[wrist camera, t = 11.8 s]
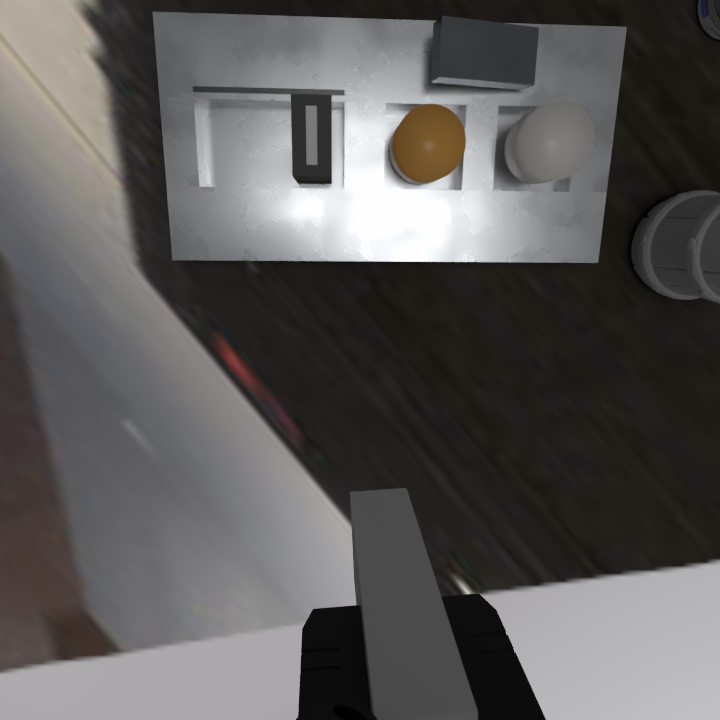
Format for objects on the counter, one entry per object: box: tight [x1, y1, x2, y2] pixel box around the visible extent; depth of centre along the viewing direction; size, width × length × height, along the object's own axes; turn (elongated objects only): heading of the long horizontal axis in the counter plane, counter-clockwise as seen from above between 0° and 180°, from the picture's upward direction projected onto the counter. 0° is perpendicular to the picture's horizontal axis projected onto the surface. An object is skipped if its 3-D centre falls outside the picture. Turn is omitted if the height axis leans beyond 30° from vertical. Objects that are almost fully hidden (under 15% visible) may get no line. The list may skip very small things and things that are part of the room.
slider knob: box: [291, 94, 332, 184], centre depth 31 cm, size 2×4×5 cm, turn 179°
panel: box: [153, 12, 627, 263], centre depth 34 cm, size 28×14×5 cm, turn 89°
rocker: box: [431, 16, 539, 90], centre depth 30 cm, size 6×3×1 cm, turn 89°
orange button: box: [389, 104, 466, 184], centre depth 32 cm, size 4×4×3 cm
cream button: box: [504, 100, 595, 184], centre depth 31 cm, size 4×4×3 cm
